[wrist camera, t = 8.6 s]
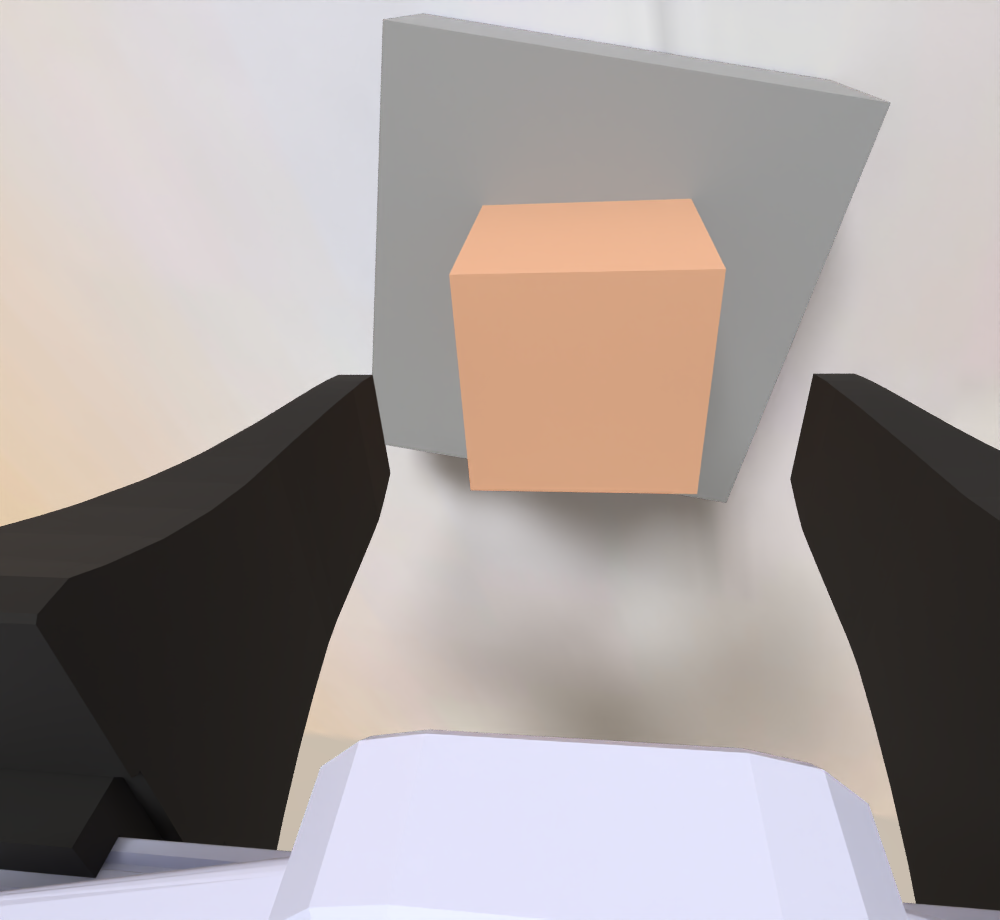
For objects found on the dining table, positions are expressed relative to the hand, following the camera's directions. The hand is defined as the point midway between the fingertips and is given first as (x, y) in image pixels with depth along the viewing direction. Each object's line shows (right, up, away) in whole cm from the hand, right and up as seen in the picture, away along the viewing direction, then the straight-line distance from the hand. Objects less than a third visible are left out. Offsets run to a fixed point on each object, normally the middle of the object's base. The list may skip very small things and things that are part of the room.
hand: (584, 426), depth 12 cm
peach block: (+1, +3, +5) cm, 6 cm away
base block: (+1, +5, +8) cm, 10 cm away
